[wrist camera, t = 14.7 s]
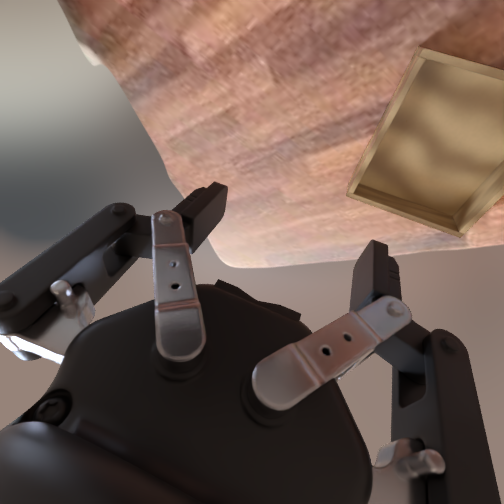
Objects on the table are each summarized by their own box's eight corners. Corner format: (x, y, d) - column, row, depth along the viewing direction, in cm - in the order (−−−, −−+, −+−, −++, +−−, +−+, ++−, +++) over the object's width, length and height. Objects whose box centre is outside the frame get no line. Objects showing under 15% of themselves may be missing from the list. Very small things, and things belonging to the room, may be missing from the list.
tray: (418, 45, 27) (423, 47, 24) (574, 90, 26) (601, 97, 22) (348, 183, 39) (345, 196, 36) (453, 221, 37) (460, 238, 34)
